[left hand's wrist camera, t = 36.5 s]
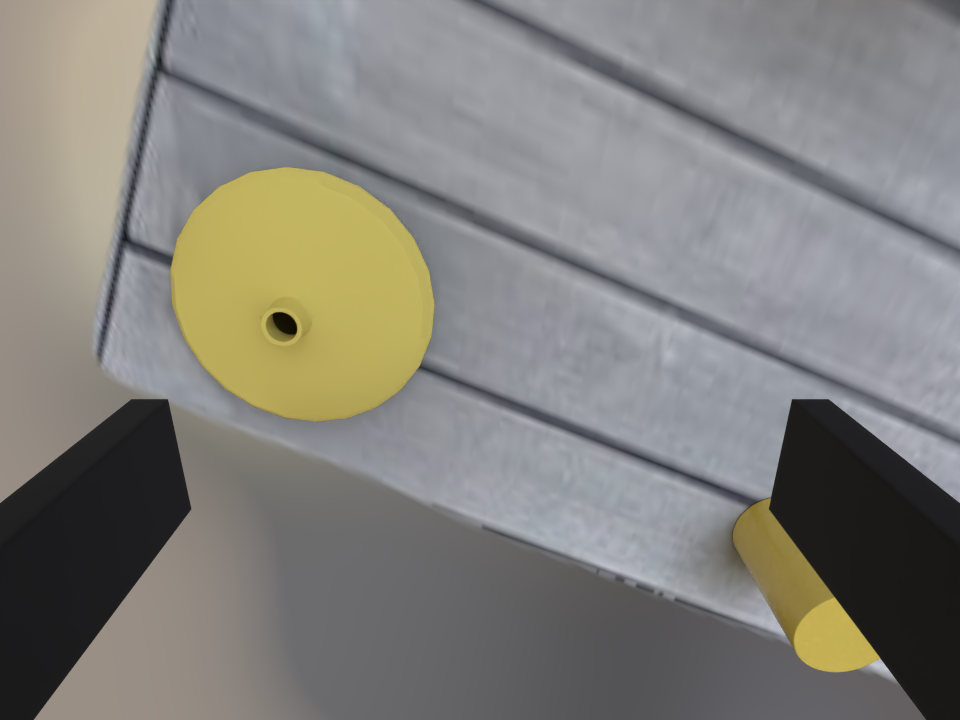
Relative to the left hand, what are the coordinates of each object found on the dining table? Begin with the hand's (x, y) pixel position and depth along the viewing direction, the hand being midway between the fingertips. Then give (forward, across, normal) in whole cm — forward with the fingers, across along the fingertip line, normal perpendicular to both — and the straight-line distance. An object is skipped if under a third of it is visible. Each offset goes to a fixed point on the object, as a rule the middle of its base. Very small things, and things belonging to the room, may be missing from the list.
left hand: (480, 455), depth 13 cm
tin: (+26, +22, -22) cm, 41 cm away
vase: (+26, -11, -4) cm, 29 cm away
